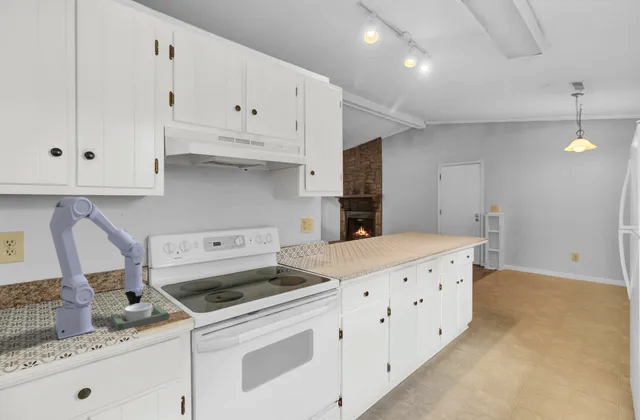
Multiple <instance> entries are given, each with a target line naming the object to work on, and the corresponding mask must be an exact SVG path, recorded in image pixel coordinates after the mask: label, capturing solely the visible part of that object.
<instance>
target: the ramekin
mask: <svg viewBox="0 0 640 420" xmlns="http://www.w3.org/2000/svg"><path fill="white" fill-rule="evenodd" d="M123 310H124V313H125V318H126V321H131V320H135V319H140V318H144V317H149V316H152V310H153V303H150V302H140V303H137V304H133V305H128V306H126V307H124V309H123Z"/></svg>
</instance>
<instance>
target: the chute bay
mask: <svg viewBox="0 0 640 420" xmlns="http://www.w3.org/2000/svg"><path fill="white" fill-rule="evenodd" d="M152 312H153V313H154V315H151V316H149V317H144V318H140V319H135V320H131V321H127V320H126V321H124V320H123V319H122V318H121V316H120V315H119V314H118V313H115V314H110V321H111V322H112V324H113V325H114V327H115V328H116V329H117V331H123V330H127V329H128V330H129V329H131V328H135V327H140V326H146V325H149V324H152V323H153V324H154V323H157V322H162V321H167V320H169V319H170V316H169V315H170V313H169V311H166V310H165V309H164V308H163V307H161V306H160V305H159V304H158V305H152Z"/></svg>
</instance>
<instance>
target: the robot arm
mask: <svg viewBox="0 0 640 420" xmlns="http://www.w3.org/2000/svg"><path fill="white" fill-rule="evenodd" d="M53 207H54V211H53V213H52V216H51V219H50V222H49V229H50V233H51V237H52V240H53V245H54V248H55V252H56V256H57V259H58V263H59V264H58V265H59V268H60V271H61V275H62V279H61V281H60V286H61V287H60V292H59V296H60V298H61V299H62V300H63V301H64V303H63V306H61V307H58V308H56V309H55V324H56V325H55V332H56V335H57V338H58V339H59V340H61V339H66V338H69V337H75V336H79V335H83V334H88V333H92V332H93V333H94V332H95V328H94V326H93V324H92V301H93V299H94V297H95V289H93V287H92V286H90V283H89V280H88V279H87V278H86V276H85V275H84V273H83V269H82V265H81V261H80V257H79V253H78V248H77V245H76V240H75V237H74V233H73V227H74V226H75V225H76V224H77V223H78V221H80V220H82V219H87V220H90V222H92V223H93V224H95V225H96V226H97V227H98V228H99V229H100V230H102V231H103V232H104V233H106V234H107V240H108V241H109V242H110V243H111V244H112V245H114V246H115V247H116V248H117V249H118V250H119V252H120V254H121V256H123V257H124V291H125V292H124V294H125V297H126V298H127V300H128V306H130V305H133V304H137V303H141V299H142V297H143V295H144V294H145V293H144V291H143V289H144V288H146V287H147V284H145V283H144V282H143V257H144V255H145V253H146V249H145V248H144V245H142V243H138V242H137V239H136V238H134V237H132V236H131V235H130V234H129V233H128V230H127V229H125V228H123V227H116V226H115V225H114V224H113V223H112V221H110V219H108V218H107V216H105V215H104V213H103V212H102V211H101V210H100V209H99V208H98V206H97V205H96V204H94V203H93V202H91V200H90V199H88V198H87V197H84V196H78V197H75V196H65V197H62V198H61V199H60V200H59V201H58V202H57V203H55V204H54V206H53Z"/></svg>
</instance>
